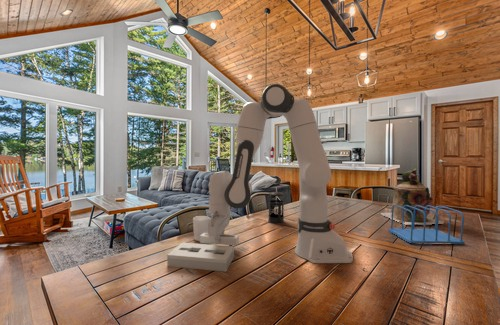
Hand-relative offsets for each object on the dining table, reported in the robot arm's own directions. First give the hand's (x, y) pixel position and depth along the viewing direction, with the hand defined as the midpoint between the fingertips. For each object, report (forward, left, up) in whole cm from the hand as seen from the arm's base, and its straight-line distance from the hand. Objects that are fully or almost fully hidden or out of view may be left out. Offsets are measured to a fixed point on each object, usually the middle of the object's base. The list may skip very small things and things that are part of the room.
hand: (219, 240), depth 104 cm
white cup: (+12, -10, -4) cm, 16 cm away
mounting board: (+3, +12, -3) cm, 13 cm away
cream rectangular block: (0, 0, -3) cm, 3 cm away
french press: (-21, -46, -4) cm, 51 cm away
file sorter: (-94, -32, -4) cm, 100 cm away
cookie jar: (-103, -65, -4) cm, 122 cm away
